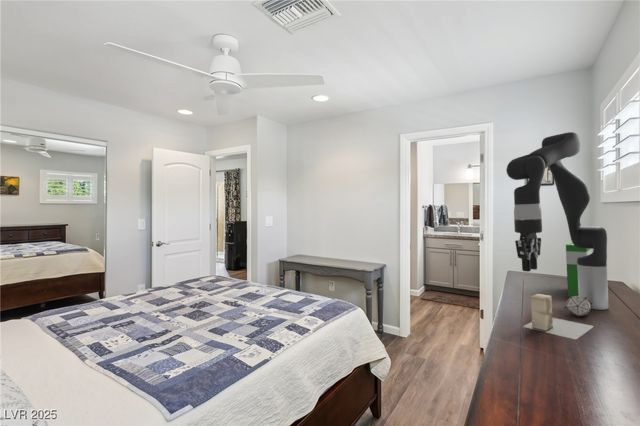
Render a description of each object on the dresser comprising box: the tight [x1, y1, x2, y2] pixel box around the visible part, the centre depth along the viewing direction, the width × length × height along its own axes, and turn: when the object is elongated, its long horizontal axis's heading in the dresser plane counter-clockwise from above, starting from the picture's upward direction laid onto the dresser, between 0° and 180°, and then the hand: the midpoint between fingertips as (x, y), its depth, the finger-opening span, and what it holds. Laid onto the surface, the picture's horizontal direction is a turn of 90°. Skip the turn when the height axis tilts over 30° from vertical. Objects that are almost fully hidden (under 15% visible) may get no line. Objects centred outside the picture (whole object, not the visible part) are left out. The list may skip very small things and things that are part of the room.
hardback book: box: [565, 241, 593, 297], centre depth 150 cm, size 18×7×24 cm, turn 134°
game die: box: [563, 294, 594, 319], centre depth 118 cm, size 9×8×10 cm
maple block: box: [530, 293, 554, 333], centre depth 107 cm, size 6×4×11 cm, turn 125°
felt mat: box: [522, 317, 595, 341], centre depth 108 cm, size 18×15×1 cm
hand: (529, 269), depth 102 cm, fingers open, 4 cm apart
